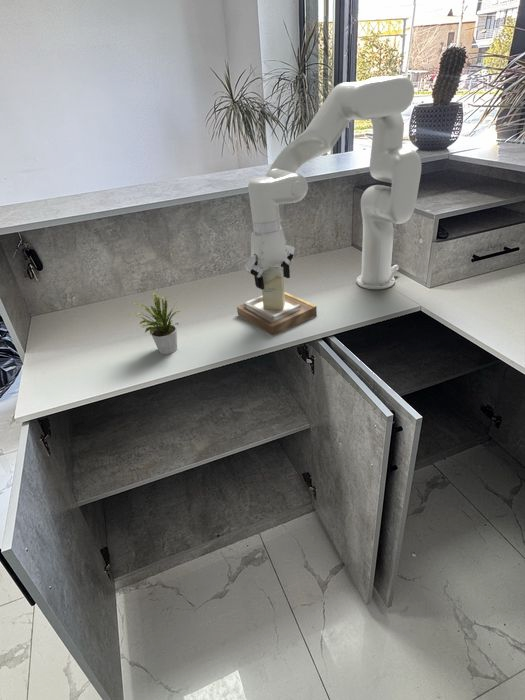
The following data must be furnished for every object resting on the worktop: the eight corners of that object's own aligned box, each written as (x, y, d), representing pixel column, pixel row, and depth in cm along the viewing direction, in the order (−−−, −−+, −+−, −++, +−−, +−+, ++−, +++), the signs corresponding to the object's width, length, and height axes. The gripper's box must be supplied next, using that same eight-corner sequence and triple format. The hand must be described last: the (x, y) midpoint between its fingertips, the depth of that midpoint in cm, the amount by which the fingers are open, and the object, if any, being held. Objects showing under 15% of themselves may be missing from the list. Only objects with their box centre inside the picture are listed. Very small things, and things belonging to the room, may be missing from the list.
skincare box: (263, 310, 132) (259, 272, 126) (265, 303, 136) (262, 266, 129) (284, 310, 131) (281, 272, 124) (285, 303, 135) (283, 266, 128)
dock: (279, 297, 146) (278, 285, 143) (316, 315, 133) (316, 302, 130) (237, 315, 138) (236, 302, 135) (272, 335, 125) (271, 322, 123)
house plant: (136, 343, 128) (122, 293, 120) (182, 330, 133) (171, 281, 124) (146, 367, 117) (130, 313, 108) (195, 352, 121) (184, 299, 113)
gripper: (282, 214, 126) (287, 269, 136) (233, 232, 119) (242, 289, 128) (299, 219, 121) (303, 276, 130) (249, 237, 113) (257, 296, 123)
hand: (273, 282), depth 129 cm, fingers open, 9 cm apart
